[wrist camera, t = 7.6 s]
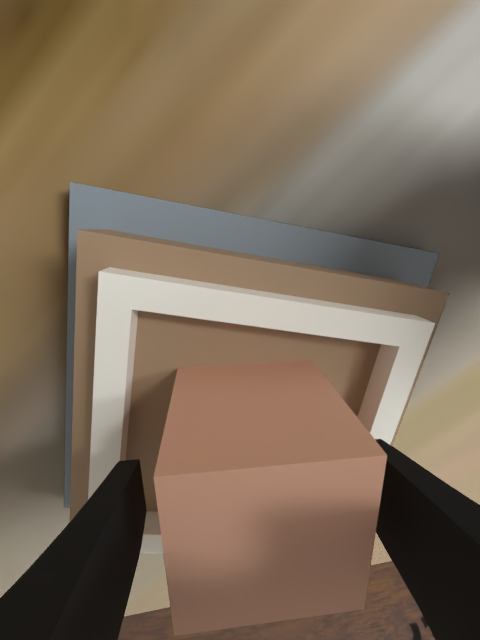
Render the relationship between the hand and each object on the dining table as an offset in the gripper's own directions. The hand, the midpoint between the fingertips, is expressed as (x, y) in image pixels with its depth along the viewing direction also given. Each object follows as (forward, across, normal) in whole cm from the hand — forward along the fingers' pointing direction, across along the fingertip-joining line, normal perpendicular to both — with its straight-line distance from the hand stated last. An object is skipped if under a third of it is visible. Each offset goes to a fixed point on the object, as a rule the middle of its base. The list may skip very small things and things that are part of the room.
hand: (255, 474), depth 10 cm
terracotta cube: (+2, 0, 0) cm, 2 cm away
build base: (+6, 0, 0) cm, 6 cm away
